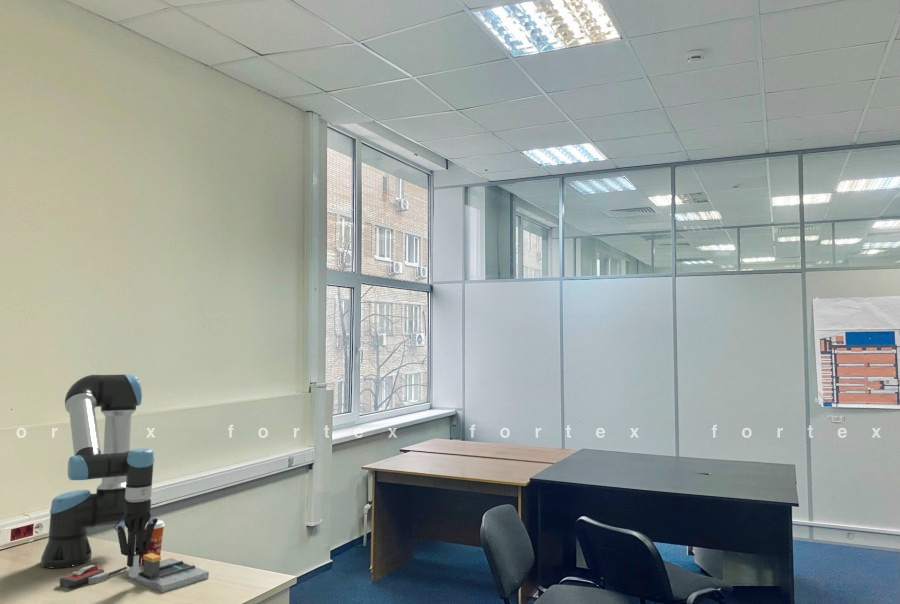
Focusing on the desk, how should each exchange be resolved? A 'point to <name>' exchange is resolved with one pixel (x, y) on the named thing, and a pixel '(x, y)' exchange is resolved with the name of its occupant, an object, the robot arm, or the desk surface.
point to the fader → (151, 565)
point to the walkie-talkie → (86, 577)
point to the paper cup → (155, 539)
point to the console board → (170, 575)
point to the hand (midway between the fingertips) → (133, 576)
